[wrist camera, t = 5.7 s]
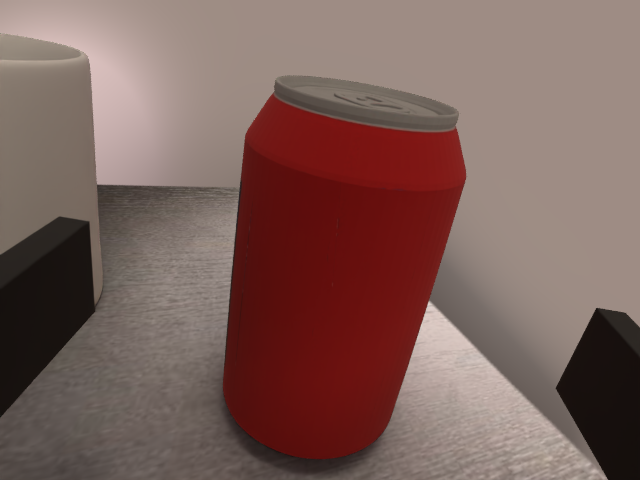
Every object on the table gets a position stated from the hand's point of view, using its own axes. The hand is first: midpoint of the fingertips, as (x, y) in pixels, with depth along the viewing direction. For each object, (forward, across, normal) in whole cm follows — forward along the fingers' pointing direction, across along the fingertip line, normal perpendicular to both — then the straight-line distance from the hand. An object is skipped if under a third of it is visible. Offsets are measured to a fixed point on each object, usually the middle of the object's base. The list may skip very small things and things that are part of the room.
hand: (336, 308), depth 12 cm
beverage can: (+4, 0, -7) cm, 8 cm away
